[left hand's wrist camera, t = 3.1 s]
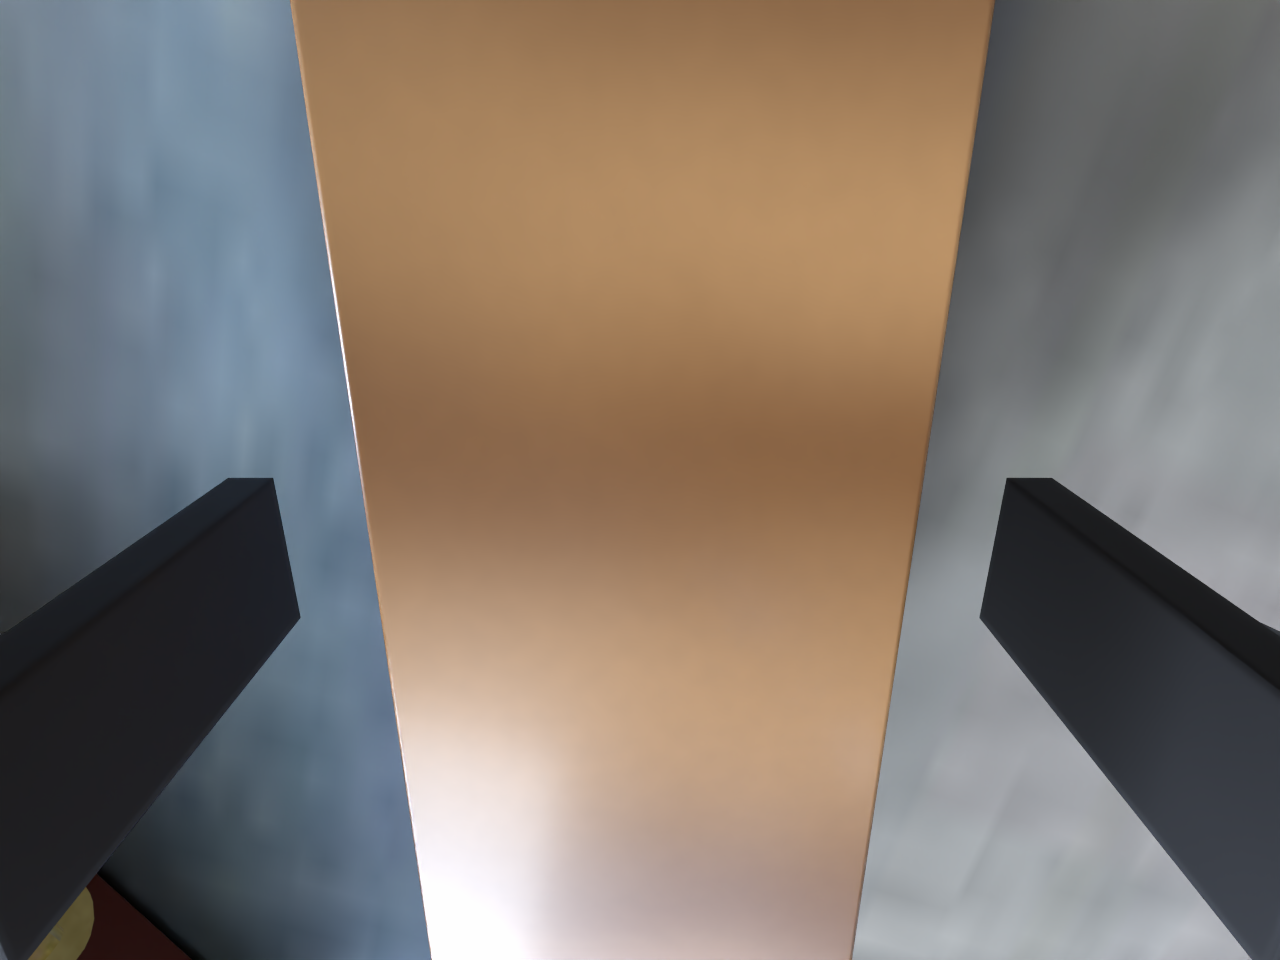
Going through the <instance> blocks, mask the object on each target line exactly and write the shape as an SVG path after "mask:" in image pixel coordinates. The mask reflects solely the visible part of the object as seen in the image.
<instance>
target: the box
mask: <svg viewBox="0 0 1280 960" xmlns="http://www.w3.org/2000/svg"><path fill="white" fill-rule="evenodd" d="M28 960H192V959H191V958H190V957H189V956H188V955H186V954H185V953H184V952H183V951H182V950H181V949H180V948H179V947H178V946H177V945H175V944H174V943H173V942H172V941H171V940H170V939H169V938H168V937H167V936H165V935H164V934H163V933H162V932H161V931H160V930H159V929H158V928H157V927H155V926H154V925H153V924H152V923H151V922H150V921H149V920H148V919H147V918H146V917H144V916H143V915H142V914H141V913H140V912H139V911H138V910H137V909H136V908H134V907H133V906H132V905H131V904H130V903H129V902H128V901H127V900H126V899H124V898H123V897H122V896H121V895H120V894H119V893H118V892H117V891H116V890H115V889H113V888H112V887H111V886H110V885H109V884H108V883H107V882H106V881H105V880H103V879H102V878H101V877H100V876H99V875H98V874H96V875H95V876H94V877H93V879H92V880H91V881H90V882H89V884H88V885H87V886H86V887H85V889H84V890H83V891H82V892H81V894H80V895H79V896H78V897H77V899H76V900H75V901H74V902H73V904H72V905H71V906H70V907H69V909H68V910H67V911H66V912H65V914H64V915H63V916H62V917H61V919H60V920H59V921H58V922H57V924H56V925H55V926H54V927H53V929H52V930H51V931H50V932H49V934H48V935H47V936H46V938H45V939H44V940H43V941H42V943H41V944H40V945H39V946H38V948H37V949H36V950H35V951H34V953H33V954H32V955H31V956H30V958H29V959H28Z"/></svg>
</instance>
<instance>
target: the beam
mask: <svg viewBox="0 0 1280 960" xmlns="http://www.w3.org/2000/svg"><path fill="white" fill-rule="evenodd" d="M290 4H291V11H292V18H293V24H294V31H295V38H296V45H297V52H298V58H299V65H300V72H301V79H302V86H303V92H304V99H305V106H306V113H307V119H308V126H309V133H310V140H311V147H312V153H313V160H314V167H315V174H316V181H317V187H318V194H319V201H320V208H321V215H322V221H323V228H324V235H325V242H326V248H327V255H328V262H329V269H330V276H331V282H332V289H333V296H334V303H335V310H336V316H337V323H338V330H339V337H340V343H341V350H342V357H343V364H344V371H345V377H346V384H347V391H348V398H349V405H350V411H351V418H352V425H353V432H354V438H355V445H356V452H357V459H358V466H359V472H360V479H361V486H362V493H363V500H364V506H365V513H366V520H367V527H368V533H369V540H370V547H371V554H372V561H373V567H374V574H375V581H376V588H377V595H378V601H379V608H380V615H381V622H382V628H383V635H384V642H385V649H386V656H387V662H388V669H389V676H390V683H391V690H392V696H393V703H394V710H395V717H396V724H397V730H398V737H399V744H400V751H401V757H402V764H403V771H404V778H405V785H406V791H407V798H408V805H409V812H410V819H411V825H412V832H413V839H414V846H415V852H416V859H417V866H418V873H419V880H420V886H421V893H422V900H423V907H424V914H425V920H426V927H427V934H428V941H429V947H430V954H431V960H852V955H853V948H854V942H855V935H856V928H857V922H858V915H859V908H860V901H861V895H862V888H863V881H864V875H865V868H866V861H867V855H868V848H869V841H870V835H871V828H872V821H873V814H874V808H875V801H876V794H877V788H878V781H879V774H880V768H881V761H882V754H883V748H884V741H885V734H886V727H887V721H888V714H889V707H890V701H891V694H892V687H893V681H894V674H895V667H896V661H897V654H898V647H899V640H900V634H901V627H902V620H903V614H904V607H905V600H906V594H907V587H908V580H909V574H910V567H911V560H912V553H913V547H914V540H915V533H916V527H917V520H918V513H919V507H920V500H921V493H922V487H923V480H924V473H925V466H926V460H927V453H928V446H929V440H930V433H931V426H932V420H933V413H934V406H935V400H936V393H937V386H938V379H939V373H940V366H941V359H942V353H943V346H944V339H945V333H946V326H947V319H948V313H949V306H950V299H951V292H952V286H953V279H954V272H955V266H956V259H957V252H958V246H959V239H960V232H961V226H962V219H963V212H964V205H965V199H966V192H967V185H968V179H969V172H970V165H971V159H972V152H973V145H974V139H975V132H976V125H977V118H978V112H979V105H980V98H981V92H982V85H983V78H984V72H985V65H986V58H987V52H988V45H989V38H990V31H991V25H992V18H993V11H994V5H995V0H290Z"/></svg>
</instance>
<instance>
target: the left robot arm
mask: <svg viewBox="0 0 1280 960" xmlns="http://www.w3.org/2000/svg"><path fill="white" fill-rule="evenodd" d="M299 619H300V613H299V608H298V603H297V598H296V593H295V587H294V582H293V577H292V572H291V567H290V562H289V557H288V552H287V546H286V541H285V536H284V531H283V526H282V521H281V516H280V510H279V505H278V500H277V495H276V490H275V485H274V480H273V478H227V479H226V480H225V481H223V482H222V483H220V484H219V485H217V486H216V487H214V488H213V489H212V490H210V491H209V492H207V493H206V494H204V495H203V496H202V497H200V498H199V499H197V500H196V501H194V502H193V503H191V504H190V505H189V506H187V507H186V508H184V509H183V510H181V511H180V512H179V513H177V514H176V515H174V516H173V517H171V518H170V519H168V520H167V521H166V522H164V523H163V524H161V525H160V526H158V527H157V528H155V529H154V530H153V531H151V532H150V533H148V534H147V535H145V536H144V537H143V538H141V539H140V540H138V541H137V542H135V543H134V544H132V545H131V546H130V547H128V548H127V549H125V550H124V551H122V552H121V553H119V554H118V555H117V556H115V557H114V558H112V559H111V560H109V561H108V562H107V563H105V564H104V565H102V566H101V567H99V568H98V569H96V570H95V571H94V572H92V573H91V574H89V575H88V576H86V577H85V578H83V579H82V580H81V581H79V582H78V583H76V584H75V585H73V586H72V587H71V588H69V589H68V590H66V591H65V592H63V593H62V594H60V595H59V596H58V597H56V598H55V599H53V600H52V601H50V602H49V603H48V604H46V605H45V606H43V607H42V608H40V609H39V610H37V611H36V612H35V613H33V614H32V615H30V616H29V617H27V618H26V619H24V620H23V621H22V622H20V623H19V624H17V625H16V626H14V627H13V628H12V629H10V630H9V631H7V632H5V633H3V634H1V635H0V960H28V959H29V958H30V956H31V955H32V954H33V953H34V951H35V950H36V949H37V948H38V946H39V945H40V944H41V943H42V941H43V940H44V939H45V938H46V936H47V935H48V934H49V932H50V931H51V930H52V929H53V927H54V926H55V925H56V924H57V922H58V921H59V920H60V919H61V917H62V916H63V915H64V914H65V912H66V911H67V910H68V909H69V907H70V906H71V905H72V904H73V902H74V901H75V900H76V899H77V897H78V896H79V895H80V894H81V892H82V891H83V890H84V889H85V887H86V886H87V885H88V884H89V882H90V881H91V880H92V879H93V877H94V876H95V875H96V874H97V872H98V871H99V870H100V869H101V867H102V866H103V865H104V864H105V862H106V861H107V860H108V858H109V857H110V856H111V855H112V853H113V852H114V851H115V850H116V848H117V847H118V846H119V845H120V843H121V842H122V841H123V840H124V838H125V837H126V836H127V835H128V833H129V832H130V831H131V830H132V828H133V827H134V826H135V825H136V823H137V822H138V821H139V820H140V818H141V817H142V816H143V815H144V813H145V812H146V811H147V810H148V808H149V807H150V806H151V805H152V803H153V802H154V801H155V800H156V798H157V797H158V796H159V795H160V793H161V792H162V791H163V790H164V788H165V787H166V786H167V784H168V783H169V782H170V781H171V779H172V778H173V777H174V776H175V774H176V773H177V772H178V771H179V769H180V768H181V767H182V766H183V764H184V763H185V762H186V761H187V759H188V758H189V757H190V756H191V754H192V753H193V752H194V751H195V749H196V748H197V747H198V746H199V744H200V743H201V742H202V741H203V739H204V738H205V737H206V736H207V734H208V733H209V732H210V731H211V729H212V728H213V727H214V726H215V724H216V723H217V722H218V721H219V719H220V718H221V717H222V716H223V714H224V713H225V712H226V711H227V709H228V708H229V707H230V705H231V704H232V703H233V702H234V700H235V699H236V698H237V697H238V695H239V694H240V693H241V692H242V690H243V689H244V688H245V687H246V685H247V684H248V683H249V682H250V680H251V679H252V678H253V677H254V675H255V674H256V673H257V672H258V670H259V669H260V668H261V667H262V665H263V664H264V663H265V662H266V660H267V659H268V658H269V657H270V655H271V654H272V653H273V652H274V650H275V649H276V648H277V647H278V645H279V644H280V643H281V642H282V640H283V639H284V638H285V637H286V635H287V634H288V633H289V631H290V630H291V629H292V628H293V626H294V625H295V624H296V623H297V621H298V620H299ZM980 619H981V620H982V621H983V623H984V624H985V625H986V627H987V628H988V629H989V630H990V632H991V633H992V634H993V635H994V637H995V638H996V639H997V640H998V642H999V643H1000V644H1001V645H1002V647H1003V648H1004V649H1005V650H1006V652H1007V653H1008V654H1009V655H1010V657H1011V658H1012V659H1013V660H1014V662H1015V663H1016V664H1017V665H1018V667H1019V668H1020V669H1021V670H1022V672H1023V673H1024V674H1025V675H1026V677H1027V678H1028V679H1029V680H1030V682H1031V683H1032V684H1033V685H1034V687H1035V688H1036V689H1037V690H1038V692H1039V693H1040V694H1041V695H1042V697H1043V698H1044V699H1045V701H1046V702H1047V703H1048V704H1049V706H1050V707H1051V708H1052V709H1053V711H1054V712H1055V713H1056V714H1057V716H1058V717H1059V718H1060V719H1061V721H1062V722H1063V723H1064V724H1065V726H1066V727H1067V728H1068V729H1069V731H1070V732H1071V733H1072V734H1073V736H1074V737H1075V738H1076V739H1077V741H1078V742H1079V743H1080V744H1081V746H1082V747H1083V748H1084V749H1085V751H1086V752H1087V753H1088V754H1089V756H1090V757H1091V758H1092V759H1093V761H1094V762H1095V763H1096V764H1097V766H1098V767H1099V768H1100V769H1101V771H1102V772H1103V773H1104V774H1105V776H1106V777H1107V778H1108V780H1109V781H1110V782H1111V783H1112V785H1113V786H1114V787H1115V788H1116V790H1117V791H1118V792H1119V793H1120V795H1121V796H1122V797H1123V798H1124V800H1125V801H1126V802H1127V803H1128V805H1129V806H1130V807H1131V808H1132V810H1133V811H1134V812H1135V813H1136V815H1137V816H1138V817H1139V818H1140V820H1141V821H1142V822H1143V823H1144V825H1145V826H1146V827H1147V828H1148V830H1149V831H1150V832H1151V833H1152V835H1153V836H1154V837H1155V838H1156V840H1157V841H1158V842H1159V843H1160V845H1161V846H1162V847H1163V848H1164V850H1165V851H1166V852H1167V854H1168V855H1169V856H1170V857H1171V859H1172V860H1173V861H1174V862H1175V864H1176V865H1177V866H1178V867H1179V869H1180V870H1181V871H1182V872H1183V874H1184V875H1185V876H1186V877H1187V879H1188V880H1189V881H1190V882H1191V884H1192V885H1193V886H1194V887H1195V889H1196V890H1197V891H1198V892H1199V894H1200V895H1201V896H1202V897H1203V899H1204V900H1205V901H1206V902H1207V904H1208V905H1209V906H1210V907H1211V909H1212V910H1213V911H1214V912H1215V914H1216V915H1217V916H1218V917H1219V919H1220V920H1221V921H1222V922H1223V924H1224V925H1225V926H1226V928H1227V929H1228V930H1229V931H1230V933H1231V934H1232V935H1233V936H1234V938H1235V939H1236V940H1237V941H1238V943H1239V944H1240V945H1241V946H1242V948H1243V949H1244V950H1245V951H1246V953H1247V954H1248V955H1249V956H1250V958H1251V959H1252V960H1280V631H1278V630H1275V629H1273V628H1271V627H1269V626H1267V625H1265V624H1262V623H1260V622H1258V621H1257V620H1255V619H1254V618H1253V617H1251V616H1250V615H1248V614H1247V613H1245V612H1244V611H1243V610H1241V609H1240V608H1238V607H1237V606H1235V605H1234V604H1232V603H1231V602H1230V601H1228V600H1227V599H1225V598H1224V597H1222V596H1221V595H1220V594H1218V593H1217V592H1215V591H1214V590H1212V589H1211V588H1209V587H1208V586H1207V585H1205V584H1204V583H1202V582H1201V581H1199V580H1198V579H1196V578H1195V577H1194V576H1192V575H1191V574H1189V573H1188V572H1186V571H1185V570H1184V569H1182V568H1181V567H1179V566H1178V565H1176V564H1175V563H1173V562H1172V561H1171V560H1169V559H1168V558H1166V557H1165V556H1163V555H1162V554H1160V553H1159V552H1158V551H1156V550H1155V549H1153V548H1152V547H1150V546H1149V545H1148V544H1146V543H1145V542H1143V541H1142V540H1140V539H1139V538H1137V537H1136V536H1135V535H1133V534H1132V533H1130V532H1129V531H1127V530H1126V529H1124V528H1123V527H1122V526H1120V525H1119V524H1117V523H1116V522H1114V521H1113V520H1112V519H1110V518H1109V517H1107V516H1106V515H1104V514H1103V513H1101V512H1100V511H1099V510H1097V509H1096V508H1094V507H1093V506H1091V505H1090V504H1089V503H1087V502H1086V501H1084V500H1083V499H1081V498H1080V497H1078V496H1077V495H1076V494H1074V493H1073V492H1071V491H1070V490H1068V489H1067V488H1065V487H1064V486H1063V485H1061V484H1060V483H1058V482H1057V481H1055V480H1054V479H1053V478H1007V479H1006V485H1005V490H1004V495H1003V500H1002V505H1001V510H1000V515H999V521H998V526H997V531H996V536H995V541H994V546H993V551H992V557H991V562H990V567H989V572H988V577H987V582H986V587H985V592H984V598H983V603H982V608H981V613H980Z"/></svg>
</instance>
